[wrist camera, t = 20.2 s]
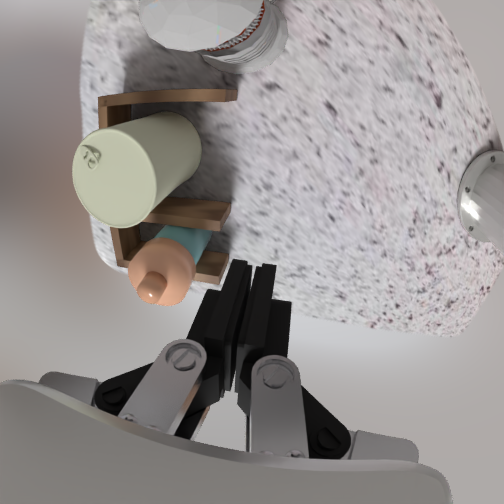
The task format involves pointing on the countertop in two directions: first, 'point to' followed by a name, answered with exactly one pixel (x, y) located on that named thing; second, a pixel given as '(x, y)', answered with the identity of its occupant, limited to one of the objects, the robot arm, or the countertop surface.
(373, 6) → the countertop surface
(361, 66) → the countertop surface
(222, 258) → the caddy
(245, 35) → the french press
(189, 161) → the can
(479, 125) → the countertop surface
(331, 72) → the countertop surface
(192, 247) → the jar
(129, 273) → the lid
